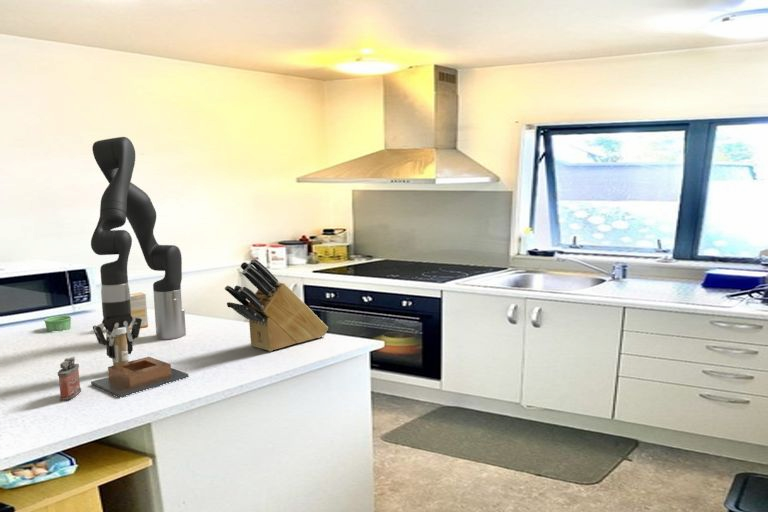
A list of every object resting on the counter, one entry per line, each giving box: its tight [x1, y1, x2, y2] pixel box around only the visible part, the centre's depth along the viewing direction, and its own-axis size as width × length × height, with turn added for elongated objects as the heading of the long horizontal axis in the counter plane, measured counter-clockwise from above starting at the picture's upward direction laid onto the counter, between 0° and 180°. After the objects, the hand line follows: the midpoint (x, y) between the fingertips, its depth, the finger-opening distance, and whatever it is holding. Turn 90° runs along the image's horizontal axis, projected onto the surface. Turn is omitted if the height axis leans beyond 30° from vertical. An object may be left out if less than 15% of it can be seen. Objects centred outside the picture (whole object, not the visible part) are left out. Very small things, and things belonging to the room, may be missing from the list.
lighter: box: [57, 357, 82, 402], centre depth 150 cm, size 8×3×10 cm, turn 5°
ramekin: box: [44, 315, 72, 332], centre depth 221 cm, size 9×9×4 cm
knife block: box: [224, 258, 329, 352], centre depth 195 cm, size 11×35×31 cm, turn 137°
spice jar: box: [110, 327, 130, 366], centre depth 169 cm, size 5×5×13 cm
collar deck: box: [90, 356, 189, 399], centre depth 161 cm, size 20×16×4 cm
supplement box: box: [129, 292, 149, 331], centre depth 221 cm, size 8×5×13 cm, turn 132°
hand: (120, 355), depth 170 cm, fingers closed on spice jar, 4 cm apart
